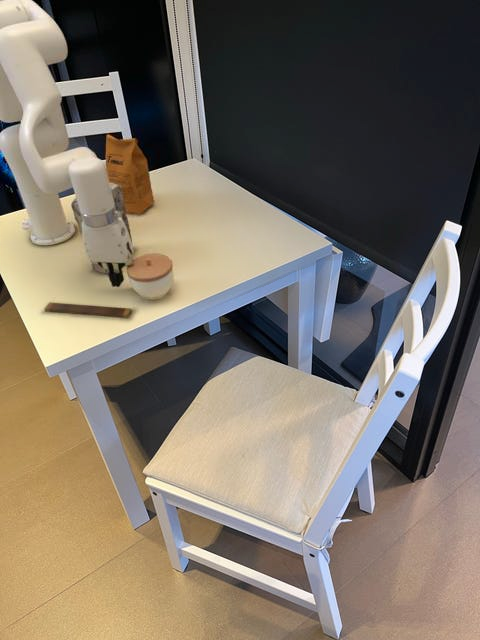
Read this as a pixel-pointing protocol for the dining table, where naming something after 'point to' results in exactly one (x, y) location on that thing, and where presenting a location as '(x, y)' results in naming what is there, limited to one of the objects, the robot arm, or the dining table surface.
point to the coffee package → (129, 173)
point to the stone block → (119, 205)
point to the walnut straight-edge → (88, 310)
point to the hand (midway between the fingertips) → (118, 283)
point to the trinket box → (151, 275)
